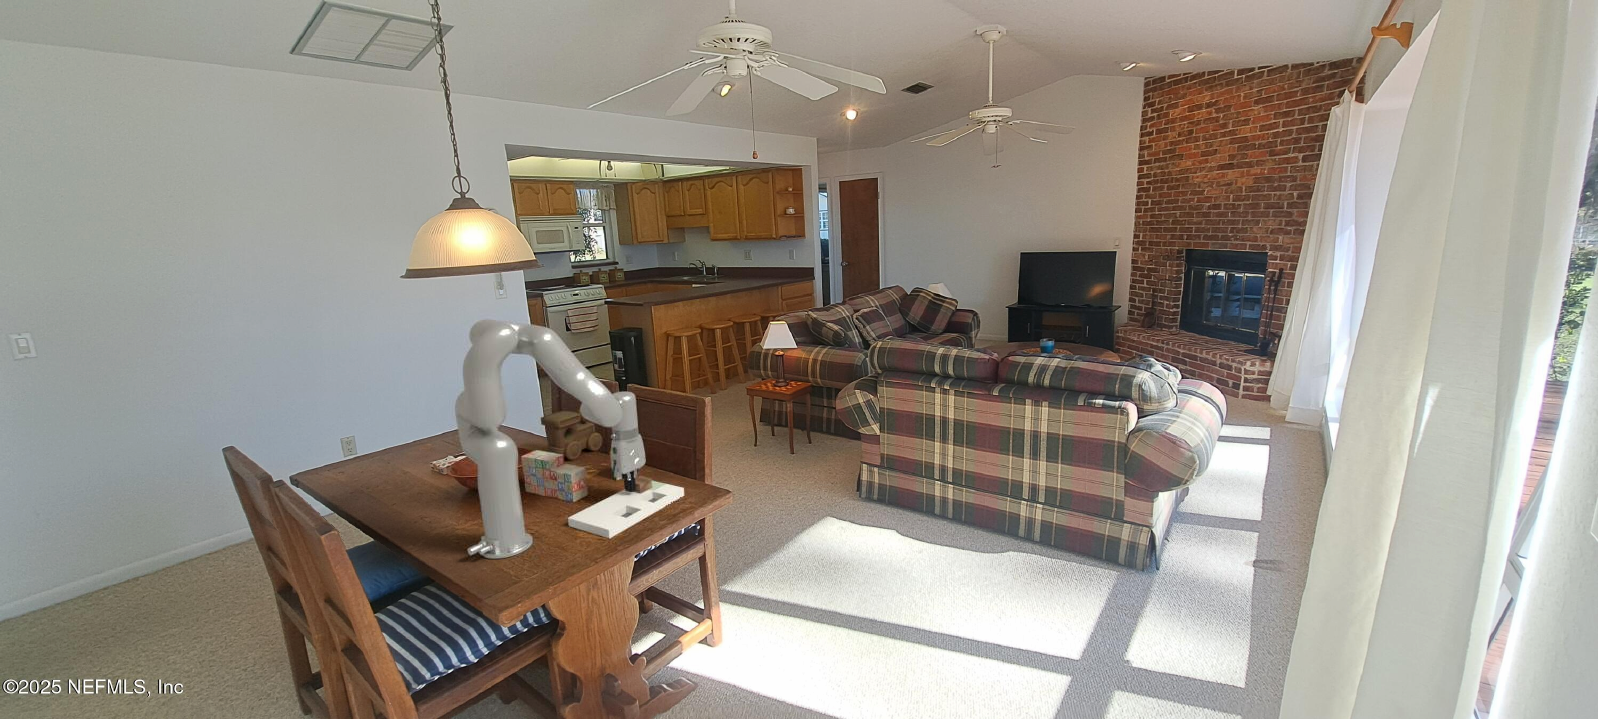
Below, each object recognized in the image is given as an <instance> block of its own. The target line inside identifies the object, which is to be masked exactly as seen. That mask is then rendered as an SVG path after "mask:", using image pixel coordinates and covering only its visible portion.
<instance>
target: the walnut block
mask: <svg viewBox="0 0 1598 719" xmlns="http://www.w3.org/2000/svg"><path fill="white" fill-rule="evenodd" d="M652 481H653V479H652V478H649V477H646V476H643V475H639V476H637V477H636V478H635V482H636V490H635V491H633V492H636V493H640V494H641V493H643V492H645V491H647V490H649V489H651V488H652Z"/></svg>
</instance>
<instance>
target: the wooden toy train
mask: <svg viewBox="0 0 1598 719" xmlns="http://www.w3.org/2000/svg"><path fill="white" fill-rule="evenodd" d="M540 424H541V425H542V426H544V431H545V435H546V436H545V437H546V441H547V443H548V444H547V452H549V453H556V454H561V455H563V456H564V458H567V459H568V460H569V461H575V460H577V459H578V458H579V457H580V456H581V453H582V450H584V449H587V448H588V450H589V451H591V452H596V451H598V450H599V449H601V446H602V445H603V437H602V435H601V434H600V433H599V432H596V427H595V423H594V422H591V421H588V420H587V419H585V418H584V417H583V416H582V414H581V411H580V408H579V409H578V411H577V412H575V411H568V410H560V411H556V412H552V413H549V414H547V415H543V416H542V417H540Z"/></svg>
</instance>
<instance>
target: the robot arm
mask: <svg viewBox="0 0 1598 719" xmlns="http://www.w3.org/2000/svg"><path fill="white" fill-rule="evenodd" d="M468 333H469V335H468V337H469V341H470V343H471V344H472V345H471V347H470V348H469V350H468V351H467V353H466V355H465V356H464V360H463V363H462V380H463V387H464V388H463V389H464V390H462V391H461V393H459V395H458V396H457V398H456V399H455V404H454V415H455V420H456V427H457V430H458V437H459V441H460V445H461V448H462V451H463V454H464V455H465V456H466V457H467V458H468V459H470V460H471V461H473V462H474V463H475V464H476V465H477V490H478V497H479V502H480V510H481V517H482V523H483V530H484V535H483V536H481V537H480V538H481V539H480V540H481V541H479V542H478V544H474V545H473V546H470V547H468V548H467V553H468V555H469V556H473V555H475V554H477V553H479V554H480V555H481V556H483V557H484V558H487V559H495V560H496V559H505V558H509V557H514V556H516V555H519V554H521V553H523V552H525V551H526V550H528V549H529V548H530V547H531V546H532V544H533V536H532V535H531V534H529V533H528V532H526V529H525V527H526V526H525V520H524V513H523V504H522V497H521V489H520V482H519V469H518V468H519V464H518V463H519V453H518V452H519V451H518V447H517V445H516V443H515V441H514V440H513V439H512V438H511V437H509V436H508V435H507V434H505V433H504V432H501V431H499V430H498V428H499V427H500V426H501V425H502V424H503V423H504V422H505V421H506V418H507V405H506V400H505V399H506V398H505V395H504V394H505V393H504V388H503V383H502V381H503V380H502V366H503V364H504V362H505V361H506V359H507V358H508V357H509V355H512V354H514V355H515V354H516V355H527V356H530V357H532V358H533V359H534V360H535V362H536V363H537V364H538V365H539V366H540V367H541V368H542V369H543V371H544V372H545V373H546V374H547V375H548V376H549V378H551V380H552V381H553V382H554V383H555V384H556V385H557V386H558V387H559V388H561V389H562V390H563V391H565V392H566V393H568V394H569V395H571V396H572V397H574V398H575V399H576V400H578V401H580V402H581V405H580V408H579V409H580V411H581V414H582V416H583V417H584V418H585V419H587V421H588V422H591V423H593V424H596V425H599V426H602V427H604V428H611V432H612V433H611V434H610V438H611V439H612V440H611V444H610V445H611V446H610V451H611V461H610V466H611V465H612V470H613V472H614V477H616V478H622V479H621V480H623V484H624V486H623V487H624V490H625V491H628V492H633V491H635V490H636V482H635V478H637V477H638V476H637V475H638V472H639V470H640V469H642V468H643V467H644V465H645V464H646V452H645V447H644V441H643V438H642V435H641V433H639V424H638V422H639V420H638V411H637V399H636V394H635V393H633V392H632V391H618V392H614V393H611V391H610V390H609V389H608V388H607V387H606V386H605V385H604V384H603V383H602V382H601V381H600V380H599V379H598V378H596V376H594V374H593V373H592V372H590V370H588V369H587V368H586V367H585V366H584V365H583V364H582V363H581V362H580V361H579V359H578V358H577V357H576V356H575V354H574V353H573V352H572V351H571V350H570V348H569V347H568V346H567V344H565V342H564V341H563V340H562V339H561V337H560V336H559V335H558V334H557V333H556V332H555V331H554V330H552V329H551V328H549V327H545V326H542V325H536V324H528V323H517V322H511V321H502V320H496V319H487V318H486V319H482V320H479V321H477V322H475V323H474V324H473V325H472V326H471V328H470V330H469V332H468ZM612 470H611V471H612Z"/></svg>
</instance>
